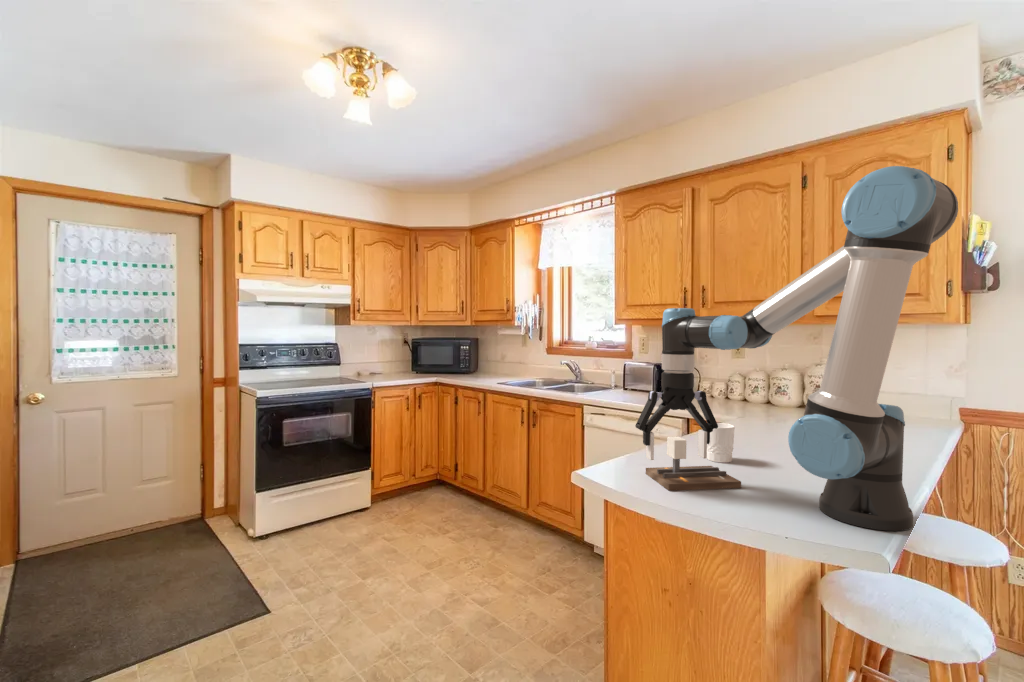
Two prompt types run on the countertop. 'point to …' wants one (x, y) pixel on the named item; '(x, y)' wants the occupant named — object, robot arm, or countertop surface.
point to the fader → (676, 451)
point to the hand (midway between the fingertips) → (676, 457)
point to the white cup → (721, 443)
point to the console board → (693, 478)
